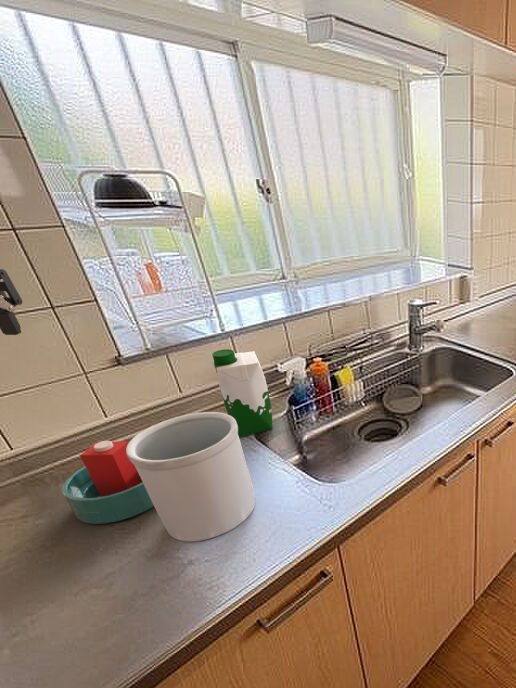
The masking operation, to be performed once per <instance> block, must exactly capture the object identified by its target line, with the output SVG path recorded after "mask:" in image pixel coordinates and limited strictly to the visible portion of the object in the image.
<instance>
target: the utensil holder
mask: <svg viewBox="0 0 516 688" xmlns="http://www.w3.org/2000/svg"><path fill="white" fill-rule="evenodd" d="M126 453H127V456H128V458H129V460H130V461H131V462H132V463H133V464H134V465H135V467H136V469H137V471H138V473H139V475H140V477H141V480H142V482H143V484H144V486H145V488H146V490H147V492H148V494H149V497H150V499H151V501H152V503H153V505H154V506H153V507H154V509H155V511H156V513H157V515H158V517H159V519H160V521H161V522H162V524H163V527H164V528H165V530H166V532H167V533H168V535H169V536H170V537H171V538H173V539H174V540H177V541H181V542H200V541H206V540H210V539H213V538H215V537H218V536H221V535H224V534H226V533H227V532H230V531H232V530H233V529H234V528H236V527H237V526H239V525H240V524H242V523H243V522H244V521H245V520H246V519H247V518H248V517H249V516H250V515H251V514H252V513H253V511H254V508H255V506H256V497H255V491H254V488H253V482H252V479H251V475H250V471H249V468H248V465H247V462H246V458H245V457H246V456H245V455H244V451H243V447H242V443H241V440H240V437H239V436H238V426H237V423H236V420H235V419H234V418H233V417H232V416H230V415H228V413H224V412H217V411H204V412H195V413H190V414H183V415H179V416H176V417H172V418H169V419H165V420H163V421H161V422H158V423H156V424H153V425H151V426H150V427H147V428H145V429H143V430H141V431H140V432H138V433H136V435H135V436H133V437H132V438H131V439H130V441H128V445H127V448H126Z"/></svg>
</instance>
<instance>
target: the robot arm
mask: <svg viewBox="0 0 516 688" xmlns="http://www.w3.org/2000/svg"><path fill="white" fill-rule="evenodd" d="M6 294H7V295H8V296H7V295H6ZM20 305H21V306H22V305H23V299H22V297H21V295H20V294H19V292H18V290H17V289H16V287H15V284H14V282H13V281H12V280H11V278H10V276H9V274H8V272H7V271H6V270H5V269H4V268H0V331H1V333H2V334H3V335H5V336H17V335H19V334H22V330H21V329H22V327H21V324H20V322H19V320H18V319H17V316H16V315H15V309H16V306H20Z"/></svg>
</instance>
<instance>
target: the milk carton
mask: <svg viewBox="0 0 516 688" xmlns="http://www.w3.org/2000/svg"><path fill="white" fill-rule="evenodd" d="M212 357H213V366H214V368H215V372H216V374H217V382H218V385H219V386H218V387H219V390H220V393H221V396H222V400H223V403H224V407H225V410H226V414H228V415H230V416H232V417H233V418H234V419H235V420H236V423H237V426H238V436H239V438H242V437H247V436H251V435H255V434H260V433H264V432H268V431H271V430H273V410H272V403H271V402H272V401H271V397H270V392H269V388H268V385H267V381H266V376H265V374H264V371H263V368H262V366H261V364H260V361H259V359H258V356H257V354H256V352H255V350H253V351H252V350H251V351H247V352H246V351H245V352H236V353H235V351H234V350H233V349H228V348H227V349H219V350H216V351H214V352H213V353H212Z"/></svg>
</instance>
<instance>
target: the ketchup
mask: <svg viewBox="0 0 516 688" xmlns="http://www.w3.org/2000/svg"><path fill="white" fill-rule="evenodd" d="M128 443H129V441H128V440H121V441H111V440H102V441H95V443H94V444H93V445H91V446H90V447H88V448H87V449H86V450H85V451H83V452H81V453H80V455H79V456H80V459H81V461H82V463H83V465H84V467H85V466H86V468H87V470H88V472H89V474H90V476H91V478H92V480H93V482H94V484H95V486H96V488H97V490H98V492H99V494H100V495H101V497H103V496H108V495H112V494H115V493H119V492H122V491H125V490H127V489H129V488H132V487H134V486H136V485H138V484H140V483H142V480H141V477H140V475H139V473H138V471H137V469H136V467H135V465H134V464H133V463H132V462H131V461H130V460H129V458H128V456H127V453H126V448H127V445H128Z"/></svg>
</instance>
